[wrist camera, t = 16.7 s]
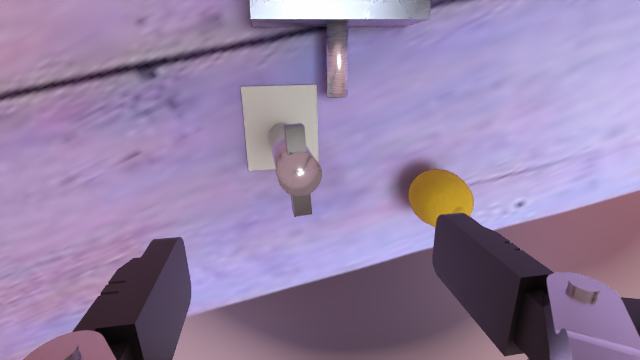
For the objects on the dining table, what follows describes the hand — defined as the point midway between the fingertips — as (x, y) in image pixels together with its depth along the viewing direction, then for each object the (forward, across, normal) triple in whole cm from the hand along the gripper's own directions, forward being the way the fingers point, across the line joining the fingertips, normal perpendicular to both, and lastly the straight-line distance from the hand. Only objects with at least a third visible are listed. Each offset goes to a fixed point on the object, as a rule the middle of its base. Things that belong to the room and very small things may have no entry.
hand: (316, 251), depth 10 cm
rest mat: (+23, 0, 0) cm, 23 cm away
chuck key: (+23, 0, +1) cm, 23 cm away
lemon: (+24, -15, +7) cm, 29 cm away
